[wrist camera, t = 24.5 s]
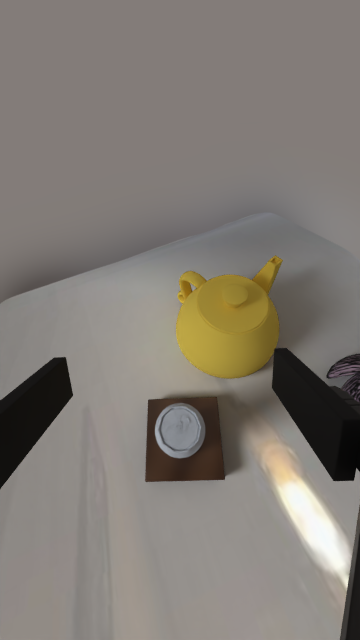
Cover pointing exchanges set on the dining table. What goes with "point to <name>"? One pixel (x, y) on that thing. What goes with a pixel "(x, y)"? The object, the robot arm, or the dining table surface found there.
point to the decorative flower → (349, 365)
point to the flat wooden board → (196, 466)
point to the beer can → (180, 430)
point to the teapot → (228, 322)
